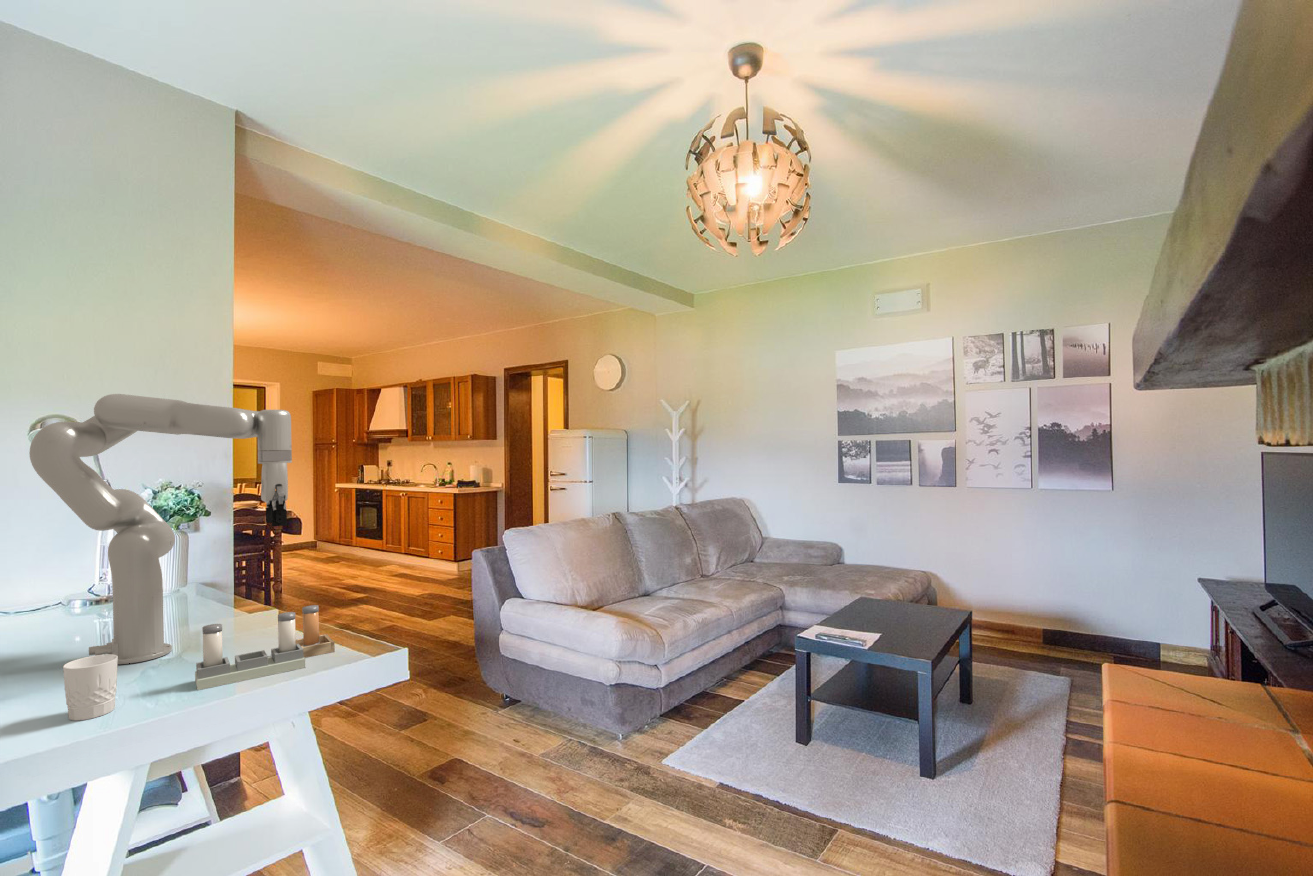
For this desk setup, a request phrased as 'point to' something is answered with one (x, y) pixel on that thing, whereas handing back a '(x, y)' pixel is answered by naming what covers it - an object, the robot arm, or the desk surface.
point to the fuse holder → (249, 667)
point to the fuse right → (286, 632)
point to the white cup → (90, 686)
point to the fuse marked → (310, 625)
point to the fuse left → (212, 645)
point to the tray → (318, 646)
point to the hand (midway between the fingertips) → (276, 524)
